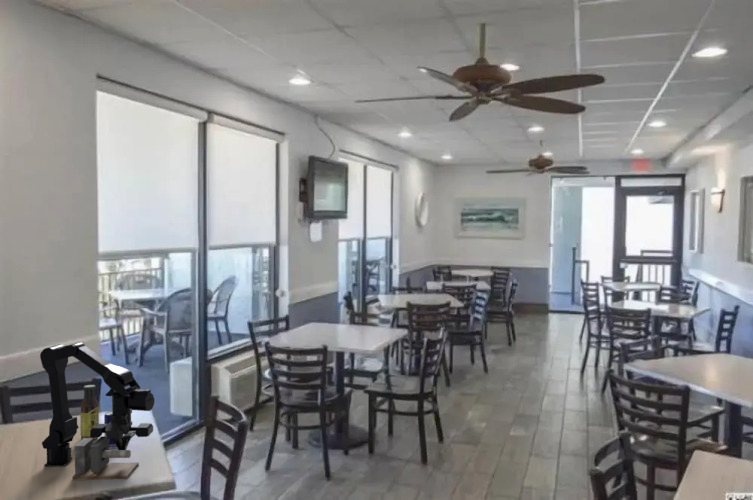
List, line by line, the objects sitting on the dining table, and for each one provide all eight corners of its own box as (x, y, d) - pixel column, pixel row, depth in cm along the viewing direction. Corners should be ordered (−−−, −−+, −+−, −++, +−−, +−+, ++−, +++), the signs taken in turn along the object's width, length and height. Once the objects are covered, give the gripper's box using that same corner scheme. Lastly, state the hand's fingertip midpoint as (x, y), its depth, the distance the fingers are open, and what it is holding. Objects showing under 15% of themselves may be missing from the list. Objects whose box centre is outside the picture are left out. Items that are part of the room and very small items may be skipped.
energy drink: (103, 448, 227) (103, 415, 226) (105, 443, 232) (105, 411, 231) (119, 447, 228) (119, 414, 227) (121, 442, 233) (121, 410, 233)
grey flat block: (91, 472, 202) (90, 445, 201) (101, 461, 210) (101, 436, 210) (98, 472, 202) (98, 445, 201) (109, 461, 210) (108, 436, 210)
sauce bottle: (94, 442, 233) (93, 388, 232) (77, 441, 233) (76, 388, 232) (102, 435, 240) (101, 383, 239) (85, 435, 240) (85, 383, 239)
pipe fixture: (72, 479, 200) (71, 448, 200) (87, 465, 211) (86, 436, 211) (126, 479, 201) (126, 448, 200) (138, 465, 212) (138, 435, 211)
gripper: (82, 417, 200) (83, 465, 201) (142, 416, 201) (143, 465, 201) (96, 406, 211) (97, 452, 212) (153, 406, 212) (154, 452, 213)
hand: (122, 455), depth 209 cm, fingers closed
